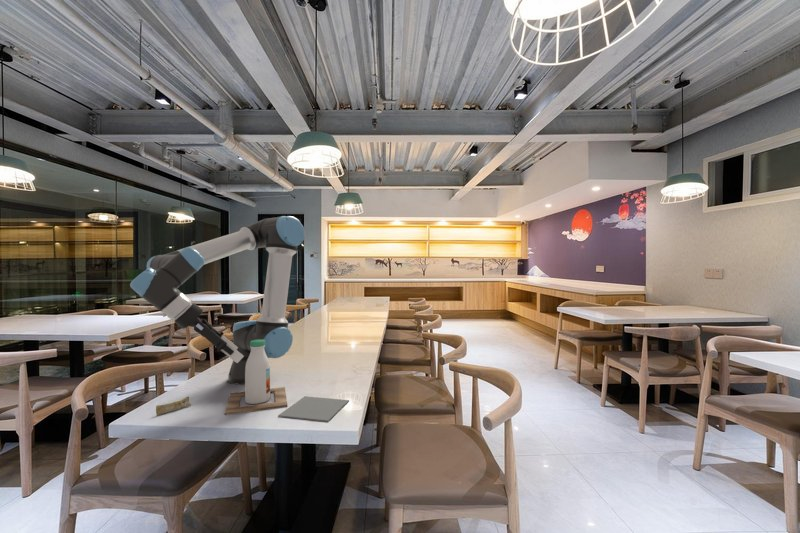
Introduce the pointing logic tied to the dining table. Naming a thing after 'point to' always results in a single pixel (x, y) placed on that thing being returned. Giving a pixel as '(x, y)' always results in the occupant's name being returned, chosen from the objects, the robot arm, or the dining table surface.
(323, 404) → the rubber mat
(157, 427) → the dining table surface
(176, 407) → the snack bar
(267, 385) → the milk bottle
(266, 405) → the wooden frame
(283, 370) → the dining table surface
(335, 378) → the dining table surface
